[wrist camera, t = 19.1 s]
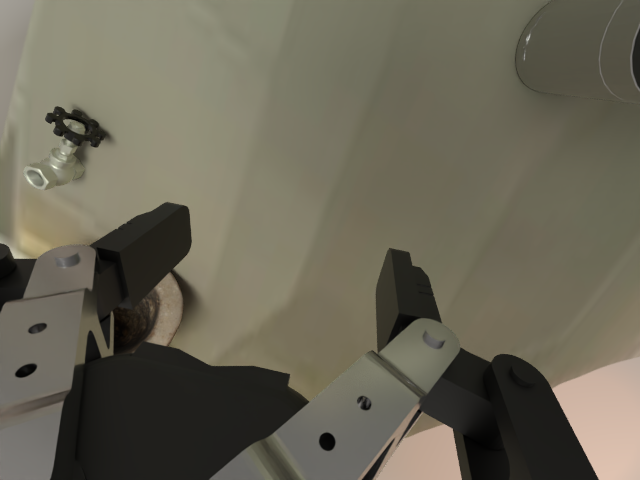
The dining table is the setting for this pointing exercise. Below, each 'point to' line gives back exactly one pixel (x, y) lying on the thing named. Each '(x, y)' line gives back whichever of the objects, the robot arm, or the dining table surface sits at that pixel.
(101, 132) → the valve
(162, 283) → the pipe
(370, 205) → the dining table surface
